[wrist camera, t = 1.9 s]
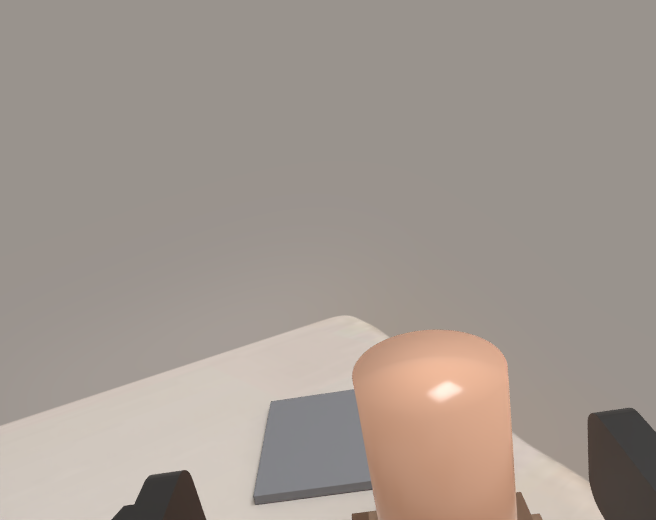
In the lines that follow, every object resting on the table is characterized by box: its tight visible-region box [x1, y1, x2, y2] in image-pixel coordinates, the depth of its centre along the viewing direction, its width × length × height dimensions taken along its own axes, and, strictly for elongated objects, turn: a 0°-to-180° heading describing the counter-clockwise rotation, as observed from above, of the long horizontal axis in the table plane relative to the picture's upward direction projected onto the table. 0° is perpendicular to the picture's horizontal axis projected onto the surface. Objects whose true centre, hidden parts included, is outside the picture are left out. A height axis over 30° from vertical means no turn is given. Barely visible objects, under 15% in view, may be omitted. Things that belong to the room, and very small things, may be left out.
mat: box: [253, 389, 372, 505], centre depth 45 cm, size 12×12×1 cm
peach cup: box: [352, 330, 517, 520], centre depth 26 cm, size 9×6×16 cm
